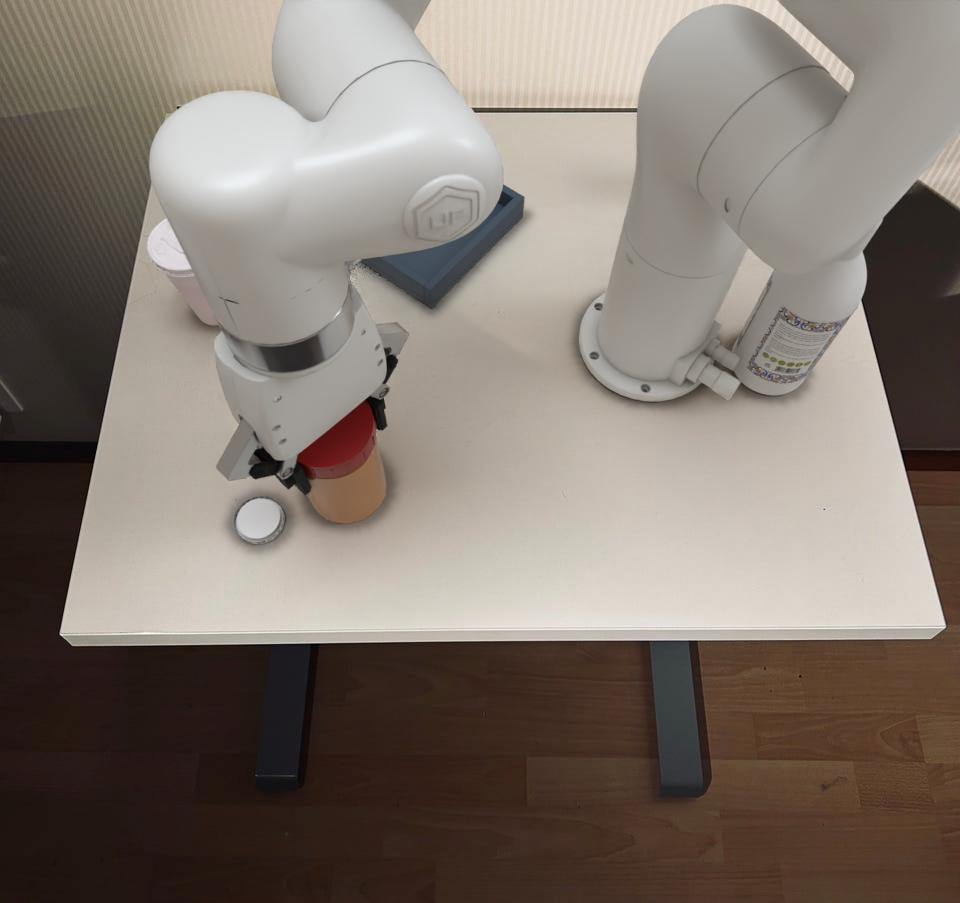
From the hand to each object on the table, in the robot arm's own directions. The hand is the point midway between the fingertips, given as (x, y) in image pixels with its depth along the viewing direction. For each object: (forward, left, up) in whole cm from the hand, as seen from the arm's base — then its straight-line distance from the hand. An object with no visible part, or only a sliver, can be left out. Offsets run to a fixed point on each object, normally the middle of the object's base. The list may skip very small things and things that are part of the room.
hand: (333, 447), depth 61 cm
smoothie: (+22, -6, -8) cm, 24 cm away
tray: (+16, -26, -8) cm, 31 cm away
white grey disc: (+4, +7, -8) cm, 11 cm away
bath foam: (-22, -33, -8) cm, 40 cm away
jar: (0, 0, -8) cm, 8 cm away
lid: (0, 0, +3) cm, 3 cm away
